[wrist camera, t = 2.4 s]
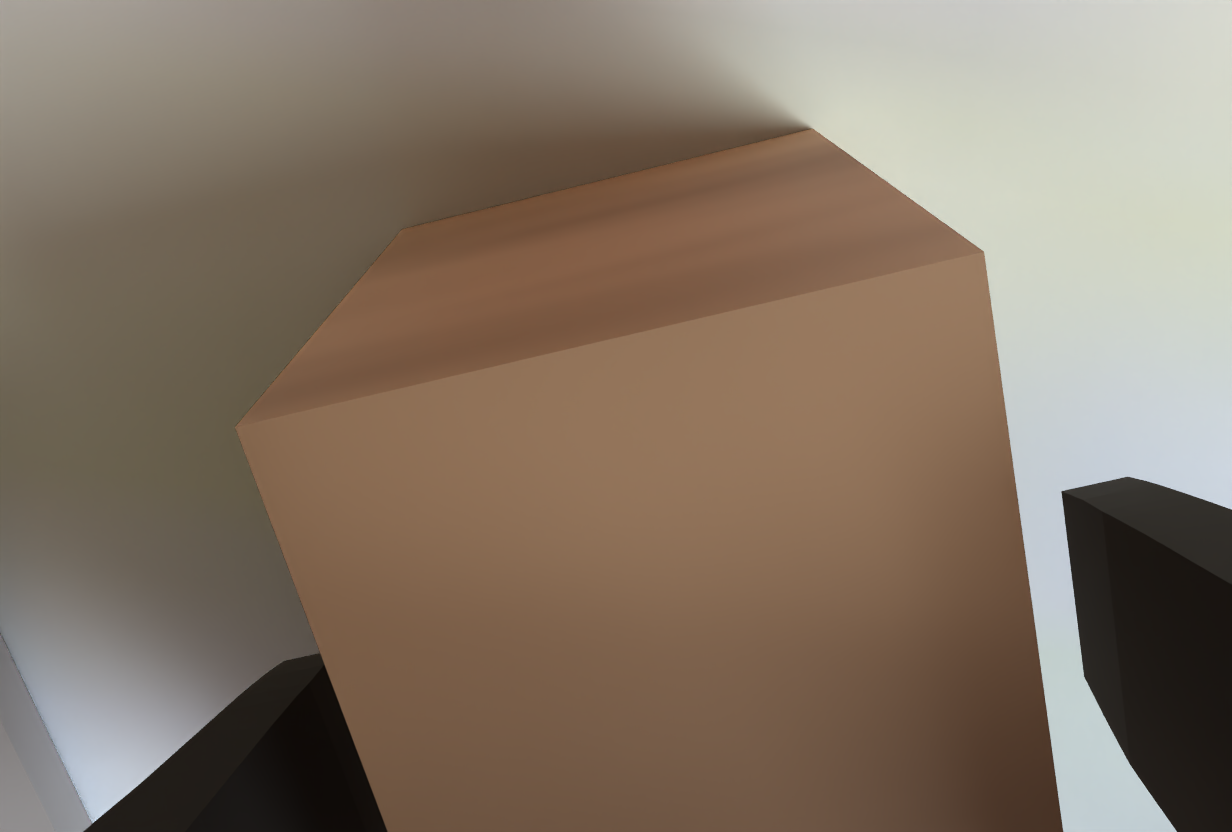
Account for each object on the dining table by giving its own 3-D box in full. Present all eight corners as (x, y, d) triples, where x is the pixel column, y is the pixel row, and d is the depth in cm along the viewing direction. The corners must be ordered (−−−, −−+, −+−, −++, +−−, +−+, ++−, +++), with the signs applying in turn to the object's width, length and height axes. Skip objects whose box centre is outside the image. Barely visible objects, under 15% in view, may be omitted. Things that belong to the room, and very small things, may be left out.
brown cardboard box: (946, 874, 14) (1138, 1385, 9) (621, 937, 14) (627, 1467, 9) (811, 127, 11) (983, 251, 6) (404, 227, 11) (236, 427, 6)
